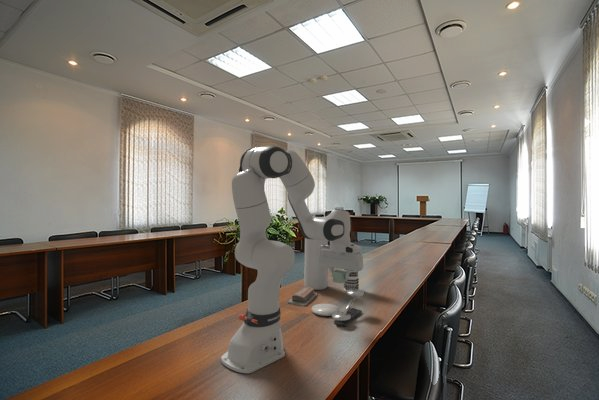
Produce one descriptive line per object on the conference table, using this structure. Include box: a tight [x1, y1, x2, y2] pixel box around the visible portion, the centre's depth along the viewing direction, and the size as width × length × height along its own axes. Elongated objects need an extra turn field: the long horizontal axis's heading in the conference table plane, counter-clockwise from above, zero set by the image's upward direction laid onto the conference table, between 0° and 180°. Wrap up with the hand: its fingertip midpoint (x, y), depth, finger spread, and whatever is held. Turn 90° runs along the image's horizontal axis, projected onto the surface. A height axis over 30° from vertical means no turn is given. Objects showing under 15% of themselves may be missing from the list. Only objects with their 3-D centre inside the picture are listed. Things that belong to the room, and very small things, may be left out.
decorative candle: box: [343, 269, 360, 292], centre depth 169 cm, size 9×9×25 cm
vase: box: [303, 237, 329, 291], centre depth 175 cm, size 14×14×32 cm
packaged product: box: [287, 286, 318, 307], centre depth 154 cm, size 18×5×10 cm
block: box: [332, 268, 347, 284], centre depth 125 cm, size 4×4×4 cm
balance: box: [331, 288, 365, 327], centre depth 130 cm, size 22×8×10 cm, turn 145°
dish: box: [311, 303, 340, 317], centre depth 137 cm, size 13×13×2 cm
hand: (340, 278), depth 125 cm, fingers closed on block, 4 cm apart
